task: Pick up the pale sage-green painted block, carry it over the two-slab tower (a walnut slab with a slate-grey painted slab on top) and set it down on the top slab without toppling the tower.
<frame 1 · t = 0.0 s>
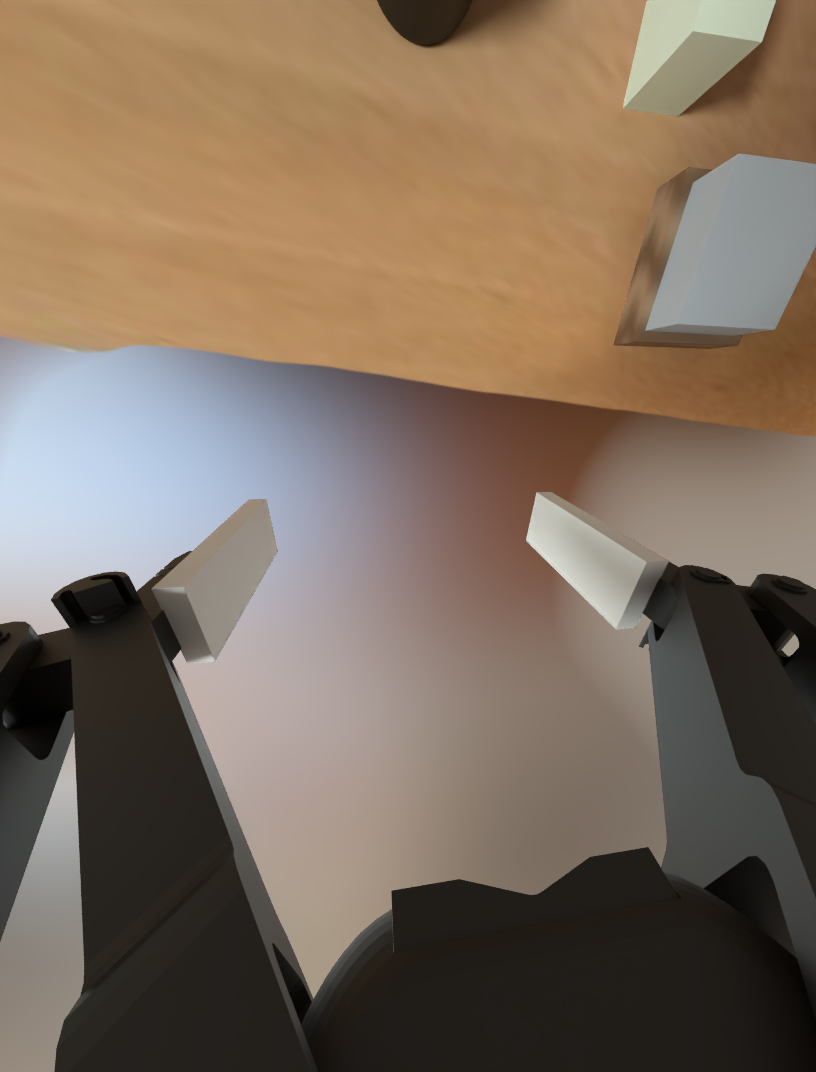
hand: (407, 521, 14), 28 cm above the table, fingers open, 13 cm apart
top slab: (715, 267, 32), point 3 cm above the table
bottom slab: (681, 279, 35), on the table
block: (662, 63, 27), on the table
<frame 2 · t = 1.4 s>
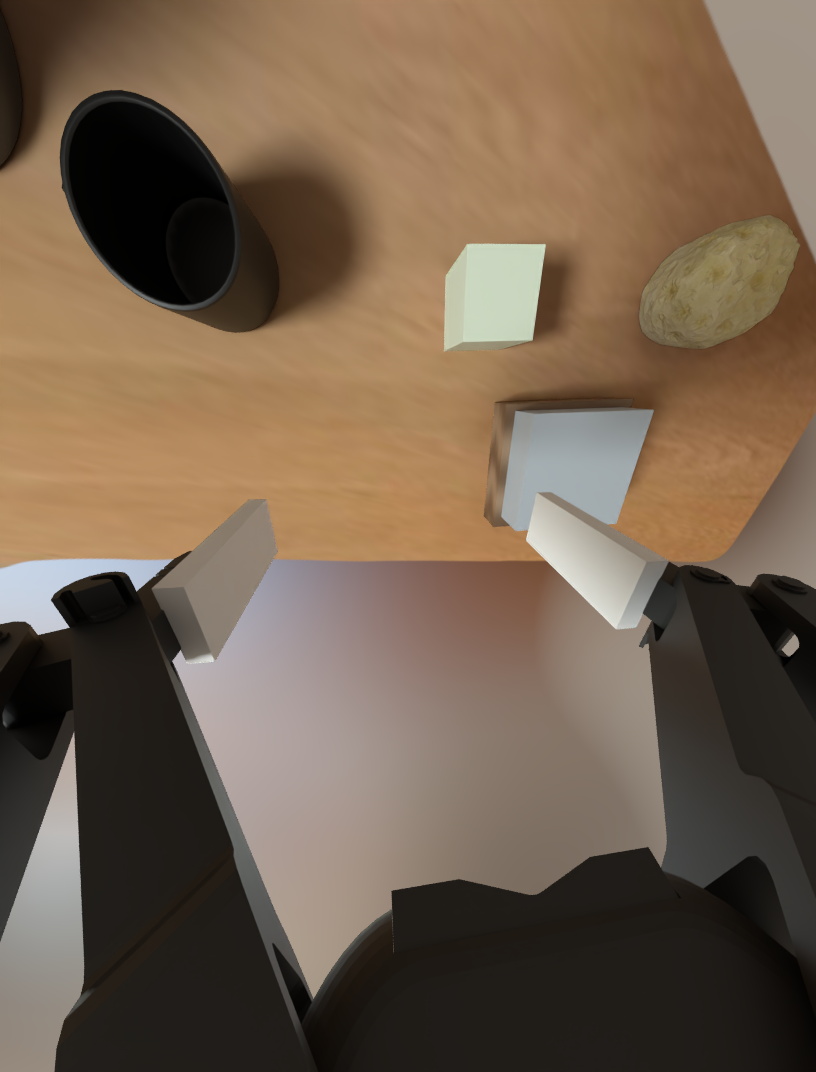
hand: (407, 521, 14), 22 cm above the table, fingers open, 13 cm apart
top slab: (557, 465, 34), point 3 cm above the table, touching bottom slab
mug: (208, 262, 25), on the table
decorative item: (677, 300, 31), on the table
bottom slab: (540, 460, 37), on the table, touching top slab
block: (474, 315, 29), on the table
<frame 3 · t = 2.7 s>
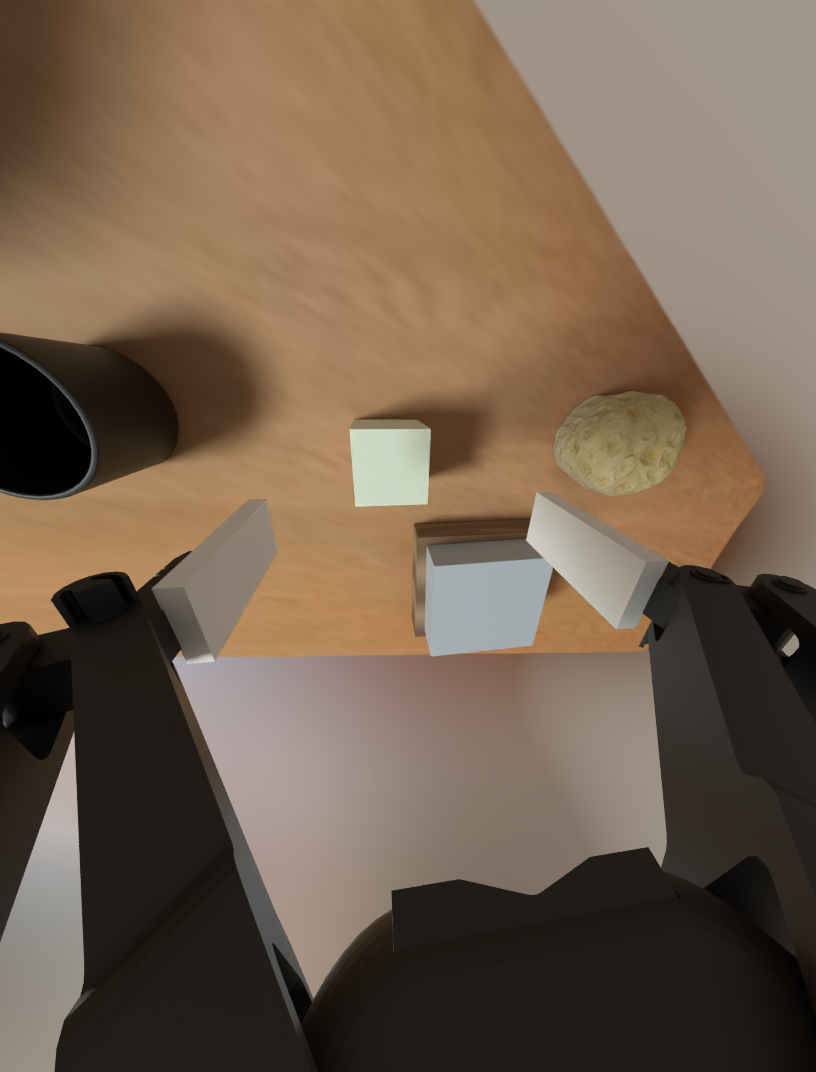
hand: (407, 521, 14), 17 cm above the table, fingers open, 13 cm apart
top slab: (476, 587, 34), point 3 cm above the table, touching bottom slab
mug: (102, 405, 25), on the table
decorative item: (591, 439, 31), on the table
bottom slab: (465, 569, 37), on the table, touching top slab
block: (386, 451, 29), on the table
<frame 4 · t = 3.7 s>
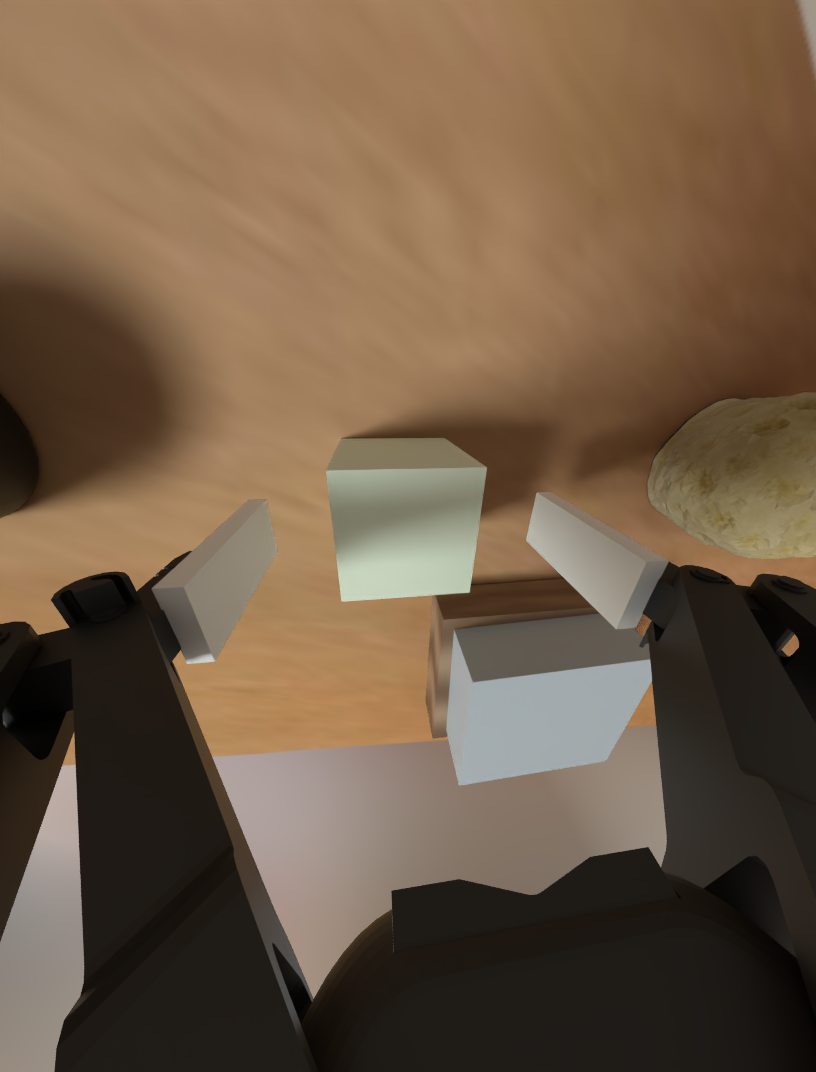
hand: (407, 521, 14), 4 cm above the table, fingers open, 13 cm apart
top slab: (522, 676, 23), point 3 cm above the table, touching bottom slab
decorative item: (703, 465, 21), on the table
bottom slab: (502, 639, 27), on the table, touching top slab
block: (394, 487, 18), on the table
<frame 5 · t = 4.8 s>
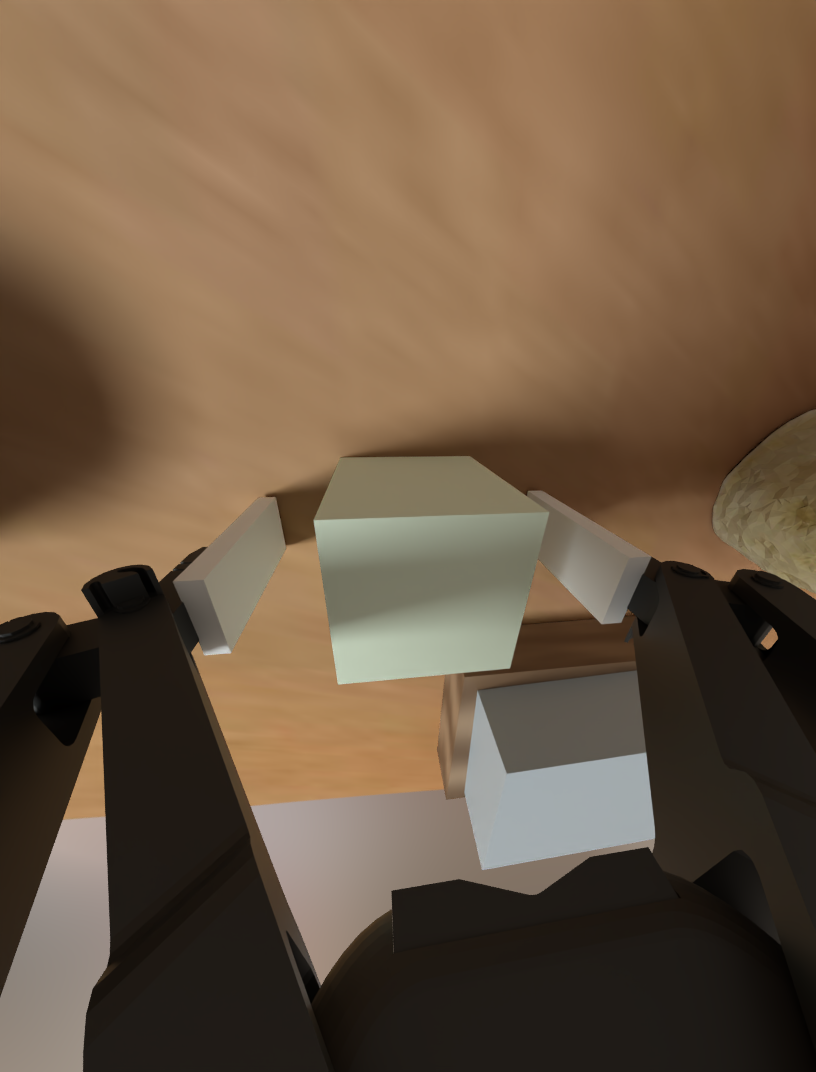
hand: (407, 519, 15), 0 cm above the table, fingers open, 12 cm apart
top slab: (556, 736, 20), point 3 cm above the table, touching bottom slab
decorative item: (780, 486, 17), on the table
bottom slab: (526, 683, 23), on the table, touching top slab
block: (405, 516, 15), on the table
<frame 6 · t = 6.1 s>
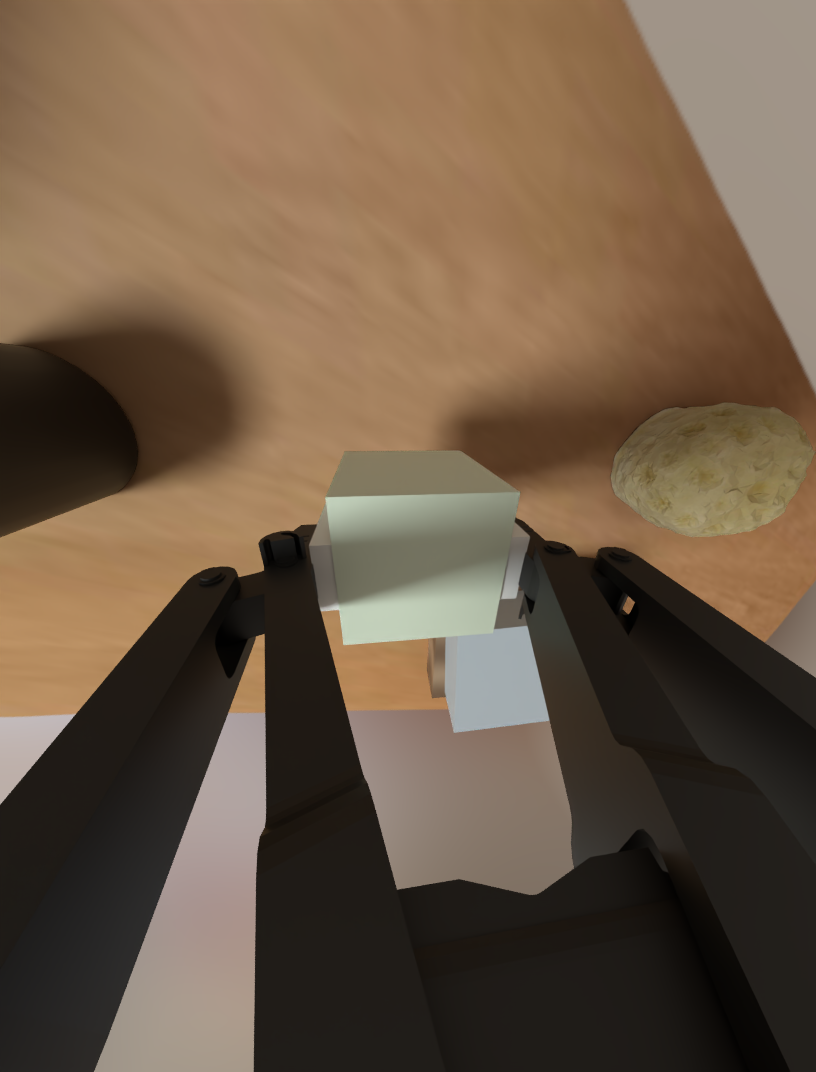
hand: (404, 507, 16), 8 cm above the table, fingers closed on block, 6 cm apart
top slab: (508, 642, 27), point 3 cm above the table, touching bottom slab
mug: (39, 422, 19), on the table
decorative item: (658, 462, 25), on the table
bottom slab: (493, 614, 31), on the table, touching top slab
block: (403, 505, 16), point 7 cm above the table, touching gripper
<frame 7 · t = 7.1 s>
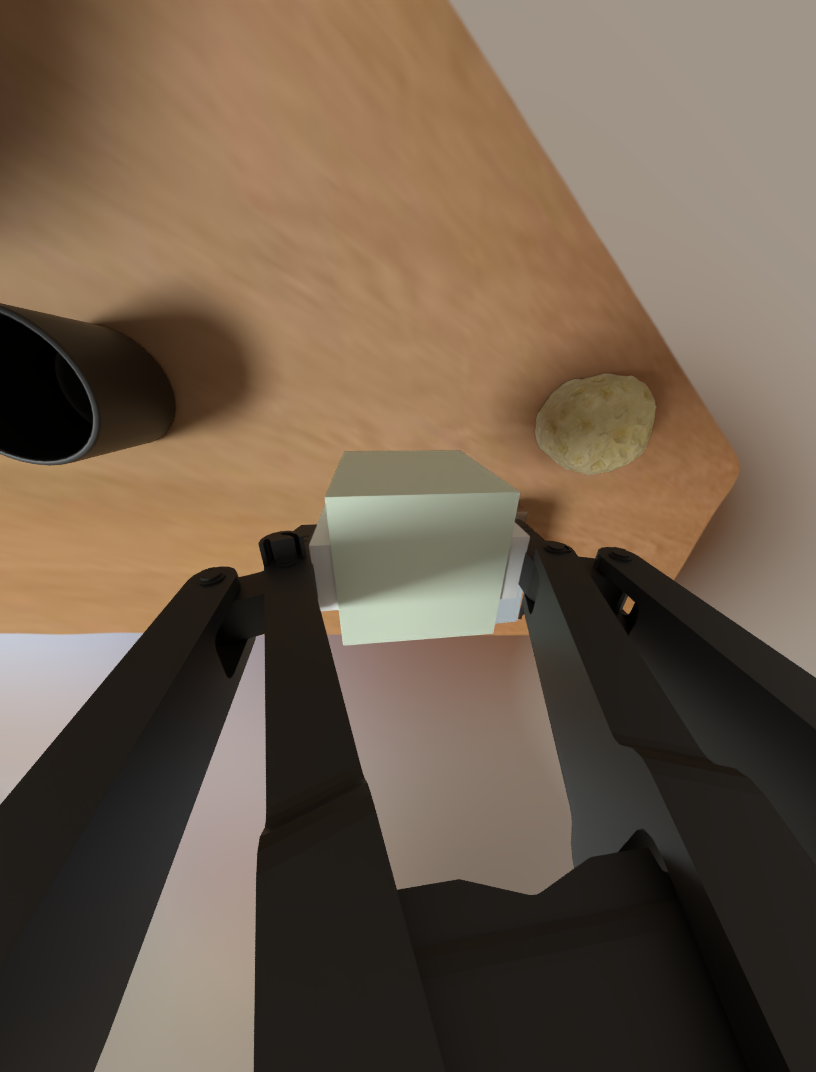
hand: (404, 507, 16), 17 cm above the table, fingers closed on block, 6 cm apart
top slab: (461, 565, 35), point 3 cm above the table, touching bottom slab
mug: (102, 383, 26), on the table
decorative item: (571, 422, 33), on the table
block: (403, 505, 16), point 17 cm above the table, touching gripper
when the fingers open (8 cm above the table, at t = 10.5 s): block stays where it is, resting on top slab.
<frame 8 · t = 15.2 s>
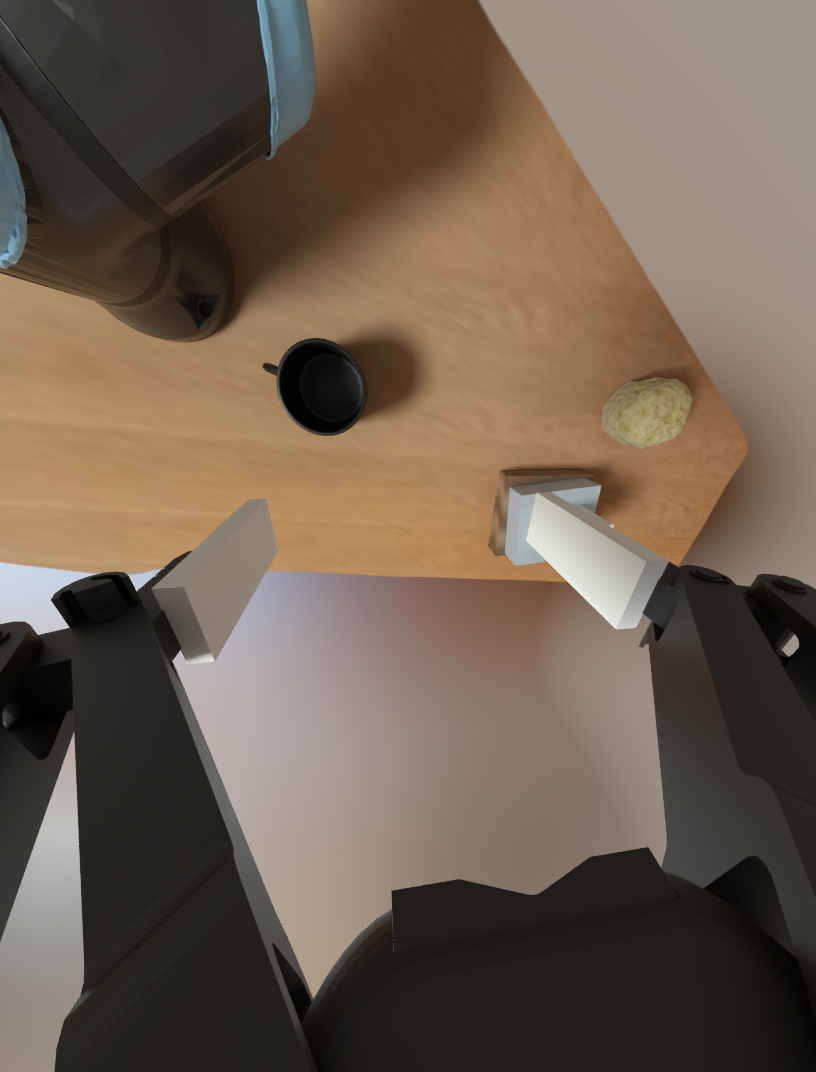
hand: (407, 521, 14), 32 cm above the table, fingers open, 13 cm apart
top slab: (542, 517, 48), point 3 cm above the table, touching block, bottom slab
mug: (322, 386, 39), on the table
decorative item: (626, 412, 45), on the table
bottom slab: (530, 508, 52), on the table, touching top slab
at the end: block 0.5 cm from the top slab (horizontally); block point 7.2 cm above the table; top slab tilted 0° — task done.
